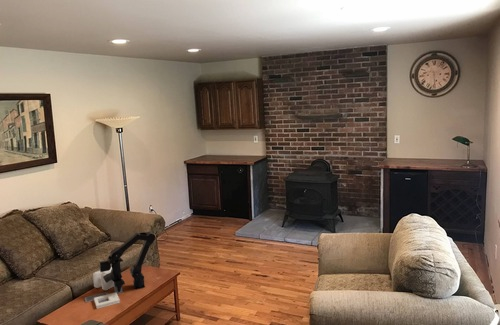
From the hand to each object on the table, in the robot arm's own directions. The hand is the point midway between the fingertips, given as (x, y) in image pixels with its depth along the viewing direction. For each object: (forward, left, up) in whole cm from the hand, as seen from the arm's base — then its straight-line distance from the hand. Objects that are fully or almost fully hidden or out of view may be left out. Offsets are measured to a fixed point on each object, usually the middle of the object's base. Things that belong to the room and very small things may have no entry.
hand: (118, 290), depth 269 cm
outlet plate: (+9, +10, -1) cm, 13 cm away
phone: (+14, 0, -2) cm, 14 cm away
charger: (0, 0, -1) cm, 1 cm away
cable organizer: (+5, -13, -1) cm, 14 cm away
